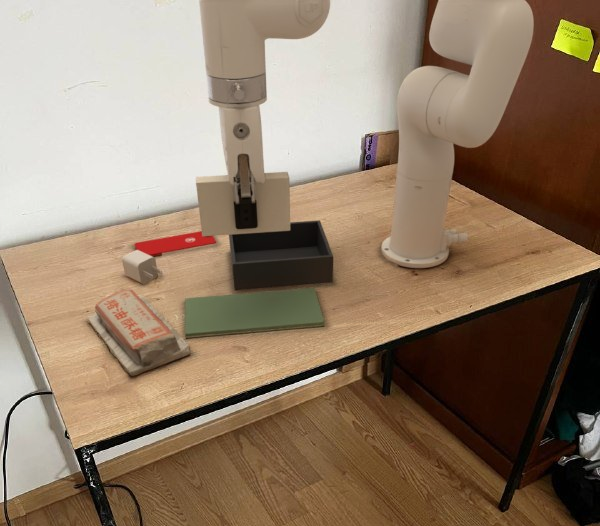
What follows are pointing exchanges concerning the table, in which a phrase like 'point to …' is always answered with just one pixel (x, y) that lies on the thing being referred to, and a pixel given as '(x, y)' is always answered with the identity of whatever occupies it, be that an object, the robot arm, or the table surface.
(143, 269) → the usb wall charger
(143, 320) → the packaged product
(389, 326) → the table surface
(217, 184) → the board
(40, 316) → the table surface
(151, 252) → the electronic device
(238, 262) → the bin
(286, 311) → the mat
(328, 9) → the robot arm
